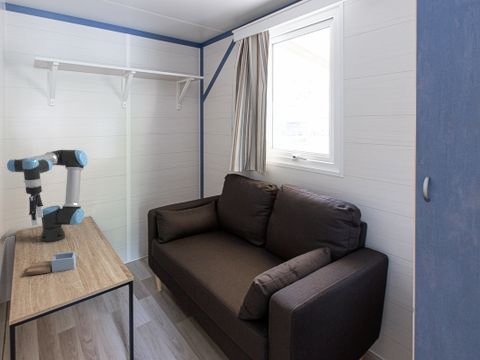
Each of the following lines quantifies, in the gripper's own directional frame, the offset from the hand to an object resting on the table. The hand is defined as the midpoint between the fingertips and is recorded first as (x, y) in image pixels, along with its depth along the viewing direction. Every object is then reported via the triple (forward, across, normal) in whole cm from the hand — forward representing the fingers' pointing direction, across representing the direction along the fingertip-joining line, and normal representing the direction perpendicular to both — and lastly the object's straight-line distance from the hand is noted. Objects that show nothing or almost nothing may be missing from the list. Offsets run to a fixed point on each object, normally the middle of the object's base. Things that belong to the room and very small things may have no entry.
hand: (37, 220), depth 175 cm
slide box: (+26, +13, +13) cm, 32 cm away
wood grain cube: (+26, +13, +1) cm, 29 cm away
